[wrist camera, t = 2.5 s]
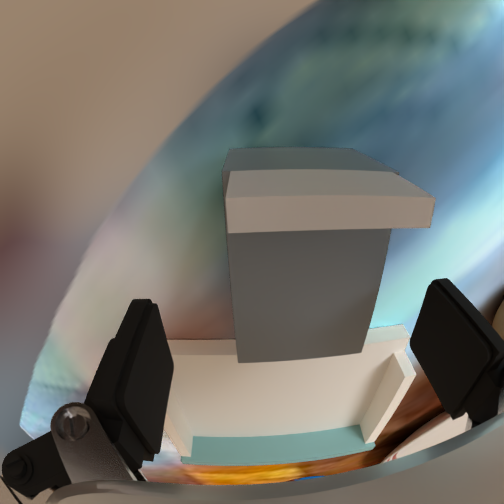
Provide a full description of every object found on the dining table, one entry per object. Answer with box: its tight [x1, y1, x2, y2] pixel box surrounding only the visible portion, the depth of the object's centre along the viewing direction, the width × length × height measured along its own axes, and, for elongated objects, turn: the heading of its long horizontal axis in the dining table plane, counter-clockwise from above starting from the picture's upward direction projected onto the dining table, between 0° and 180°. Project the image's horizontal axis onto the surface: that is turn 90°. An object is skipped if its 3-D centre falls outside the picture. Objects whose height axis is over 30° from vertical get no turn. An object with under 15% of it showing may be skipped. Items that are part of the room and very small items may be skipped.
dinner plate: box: [380, 411, 468, 464], centre depth 32 cm, size 28×27×3 cm
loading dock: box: [164, 324, 416, 466], centre depth 21 cm, size 14×19×4 cm
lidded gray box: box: [222, 147, 436, 363], centre depth 12 cm, size 8×6×9 cm
